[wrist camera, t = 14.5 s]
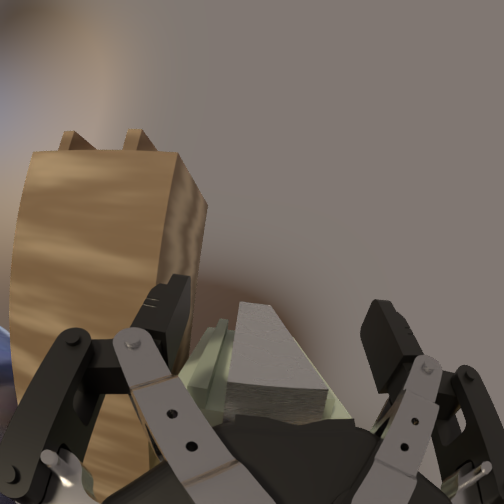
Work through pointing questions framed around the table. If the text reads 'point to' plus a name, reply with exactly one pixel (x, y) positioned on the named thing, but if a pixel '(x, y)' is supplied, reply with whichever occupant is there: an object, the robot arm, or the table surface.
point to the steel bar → (271, 372)
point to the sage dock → (216, 376)
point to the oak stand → (101, 269)
